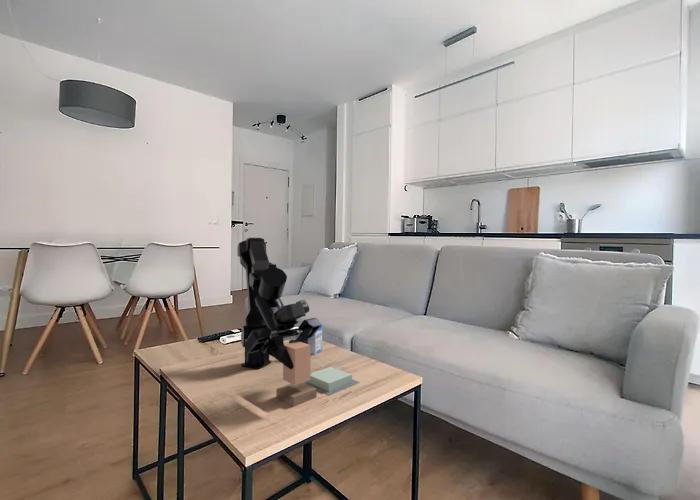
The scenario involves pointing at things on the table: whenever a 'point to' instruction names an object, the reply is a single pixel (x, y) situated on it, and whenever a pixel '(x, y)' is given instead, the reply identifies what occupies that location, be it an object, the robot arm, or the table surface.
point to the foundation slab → (330, 378)
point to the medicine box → (316, 342)
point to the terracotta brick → (298, 363)
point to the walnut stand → (296, 393)
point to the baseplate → (334, 389)
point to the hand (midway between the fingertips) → (300, 365)
